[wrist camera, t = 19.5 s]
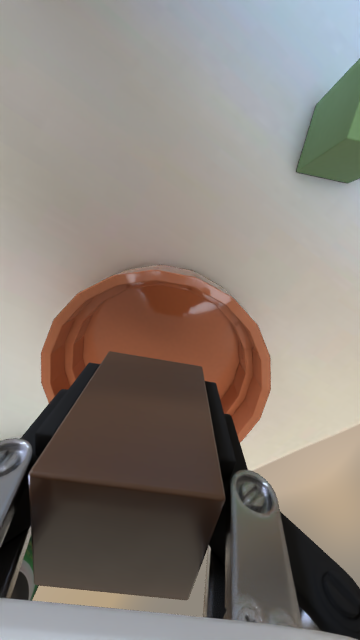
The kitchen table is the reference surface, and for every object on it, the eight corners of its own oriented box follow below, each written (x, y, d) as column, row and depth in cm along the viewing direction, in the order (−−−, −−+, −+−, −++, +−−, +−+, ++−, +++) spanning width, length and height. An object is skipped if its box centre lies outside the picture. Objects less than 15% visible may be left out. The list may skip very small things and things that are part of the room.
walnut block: (108, 350, 10) (25, 474, 4) (202, 365, 10) (227, 499, 5) (102, 425, 11) (32, 586, 6) (184, 437, 11) (188, 602, 6)
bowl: (75, 247, 19) (39, 247, 14) (274, 285, 20) (304, 297, 15) (69, 414, 24) (41, 455, 19) (226, 438, 25) (236, 483, 20)
